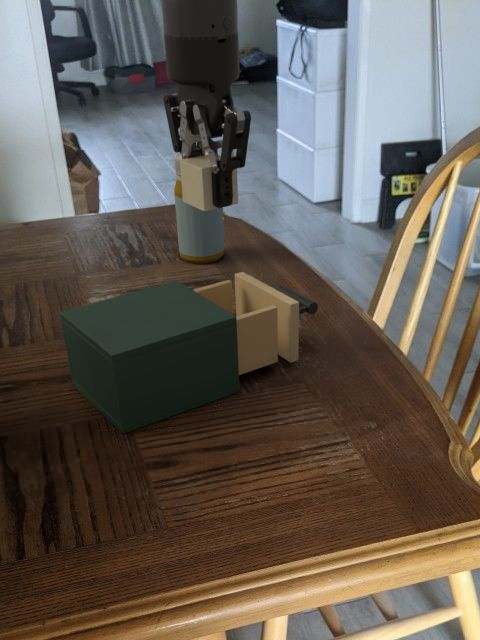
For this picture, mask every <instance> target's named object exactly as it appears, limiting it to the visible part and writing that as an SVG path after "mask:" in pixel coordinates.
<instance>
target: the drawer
mask: <svg viewBox="0 0 480 640" xmlns="http://www.w3.org/2000/svg"><path fill="white" fill-rule="evenodd" d="M192 290H193V291H195V292H197V293H198V294H200V295H202V296H203V297H205V298H206V299H208V300H210V301H211V302H213V303H215V304H216V305H218V306H220V307H221V308H223V309H224V310H226V311H228V312H229V313H231V314H233V315H234V298H233V297H234V294H235V316H236V319H237V323H236V324H237V341H238V365H239V376H241V375H244V374H247V373H250V372H252V371H255V370H258V369H261V368H264V367H267V366H269V365H272V364H275V363H278V362H279V357H281V358H283V359H284V360H286V361H287V362H289V363H294V362H297V361H299V356H300V355H299V349H300V348H299V347H300V345H299V344H300V343H299V342H300V339H299V338H300V315H301V314H305V313H307V314H309V315H314V314H316V313H317V312H318V309H319V304H318V302H316V301H314V300H312V299H310V298H308V297H306V296H305V295H303V294H301V293H299V292H297V291H296V290H293V289H291V288H290V287H288V286H286V285H283V284H281V285H279V286H278V287H277V288H274V287H272V286H270V285H268V284H266V283H264V282H263V281H261V280H258V279H257V278H255V277H253V276H252V275H250V274H248V273H246V272H244V271H239V272H237V273H234V291H235V292H234V294H233V281H232V280H229V279H227V280H223V281H220V282H216V283H212V284H209V285H205V286H202V287H198V288H195V289H192Z"/></svg>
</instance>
